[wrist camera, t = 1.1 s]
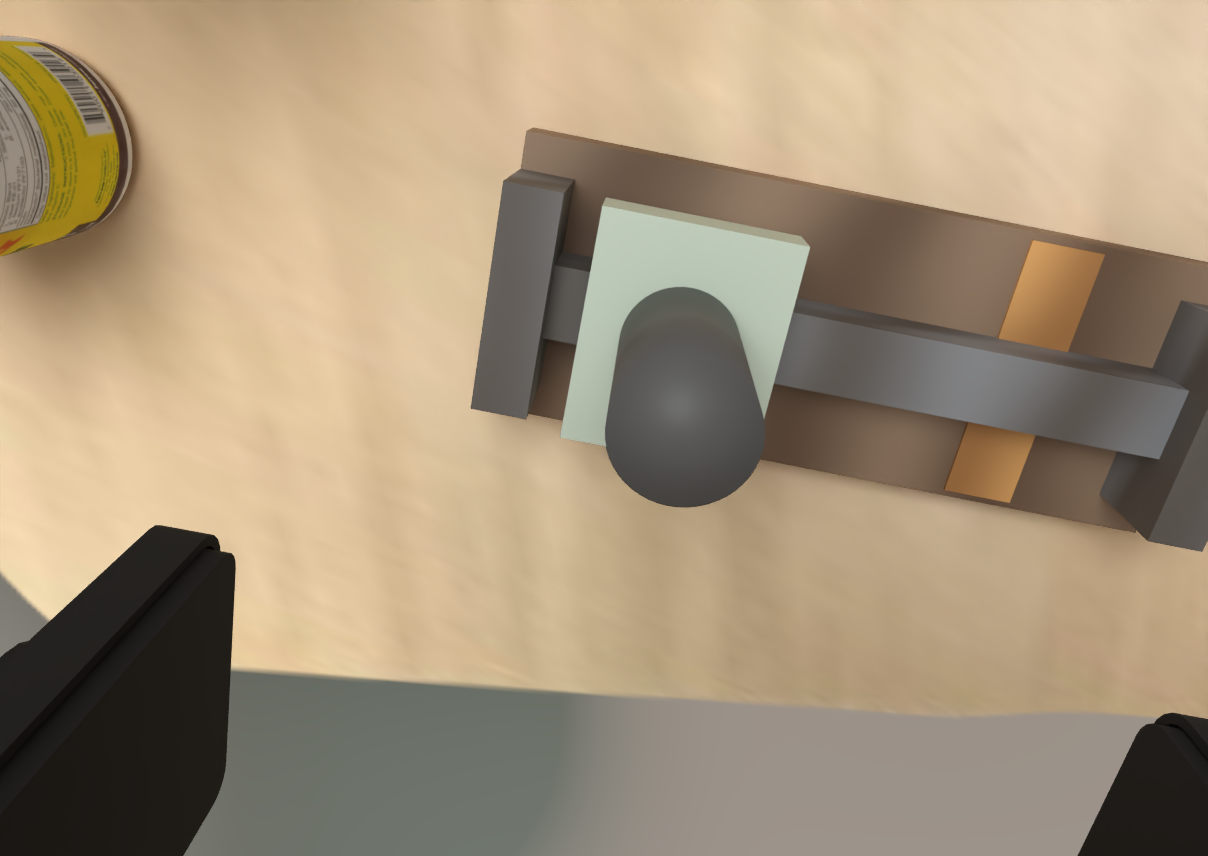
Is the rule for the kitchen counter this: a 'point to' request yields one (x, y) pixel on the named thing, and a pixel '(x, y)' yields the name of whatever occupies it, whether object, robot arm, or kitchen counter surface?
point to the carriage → (681, 348)
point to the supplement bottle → (56, 145)
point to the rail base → (884, 280)
